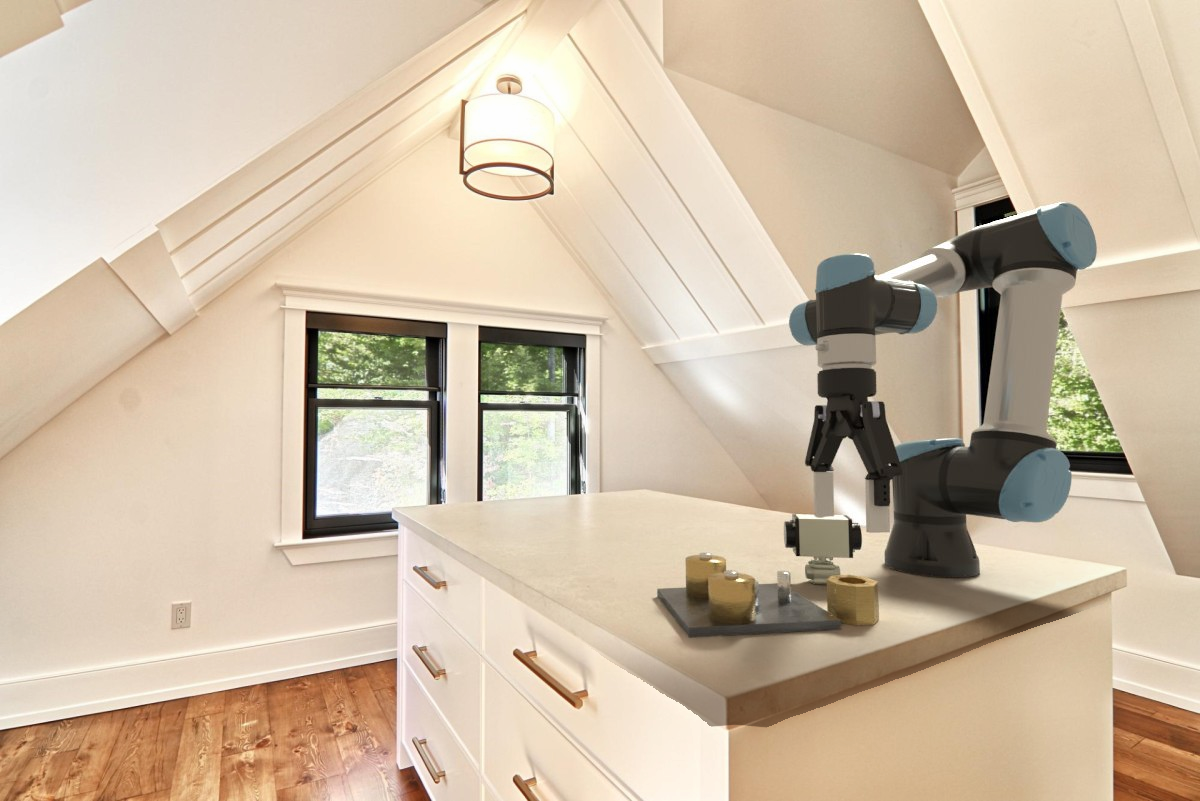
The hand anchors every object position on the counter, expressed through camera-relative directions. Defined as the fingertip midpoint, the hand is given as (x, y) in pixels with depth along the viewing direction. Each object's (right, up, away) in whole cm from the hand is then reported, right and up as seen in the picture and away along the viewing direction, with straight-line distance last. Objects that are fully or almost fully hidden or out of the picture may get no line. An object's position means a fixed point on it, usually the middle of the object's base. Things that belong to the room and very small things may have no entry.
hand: (848, 523), depth 81 cm
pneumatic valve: (+3, -14, +18) cm, 23 cm away
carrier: (-14, -13, +3) cm, 19 cm away
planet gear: (0, -13, 0) cm, 13 cm away
